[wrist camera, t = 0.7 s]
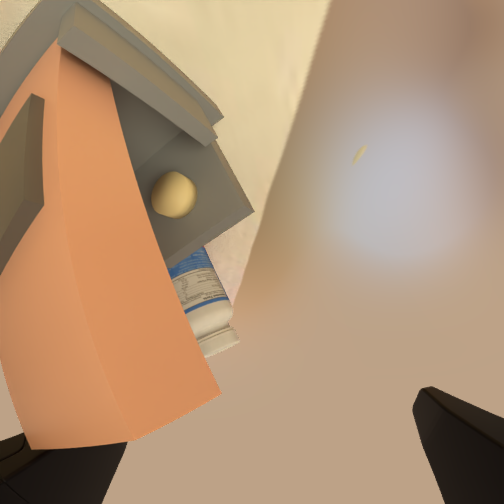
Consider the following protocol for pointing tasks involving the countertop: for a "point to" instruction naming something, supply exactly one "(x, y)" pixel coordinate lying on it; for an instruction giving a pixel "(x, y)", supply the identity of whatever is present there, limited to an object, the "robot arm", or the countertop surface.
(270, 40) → the countertop surface
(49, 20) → the switch base
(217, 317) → the pill bottle
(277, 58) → the countertop surface
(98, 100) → the orange tall block
